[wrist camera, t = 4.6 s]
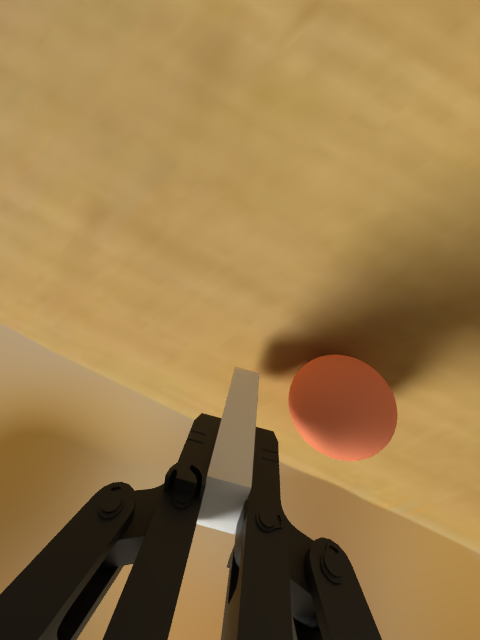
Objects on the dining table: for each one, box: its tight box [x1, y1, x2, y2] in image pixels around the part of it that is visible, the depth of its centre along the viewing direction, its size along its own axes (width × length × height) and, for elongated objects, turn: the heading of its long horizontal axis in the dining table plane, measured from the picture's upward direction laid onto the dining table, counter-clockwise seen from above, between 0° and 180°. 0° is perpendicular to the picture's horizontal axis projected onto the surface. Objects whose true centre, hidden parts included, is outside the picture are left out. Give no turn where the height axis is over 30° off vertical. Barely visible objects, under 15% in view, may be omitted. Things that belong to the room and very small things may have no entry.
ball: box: [289, 355, 397, 461], centre depth 13 cm, size 6×6×6 cm
